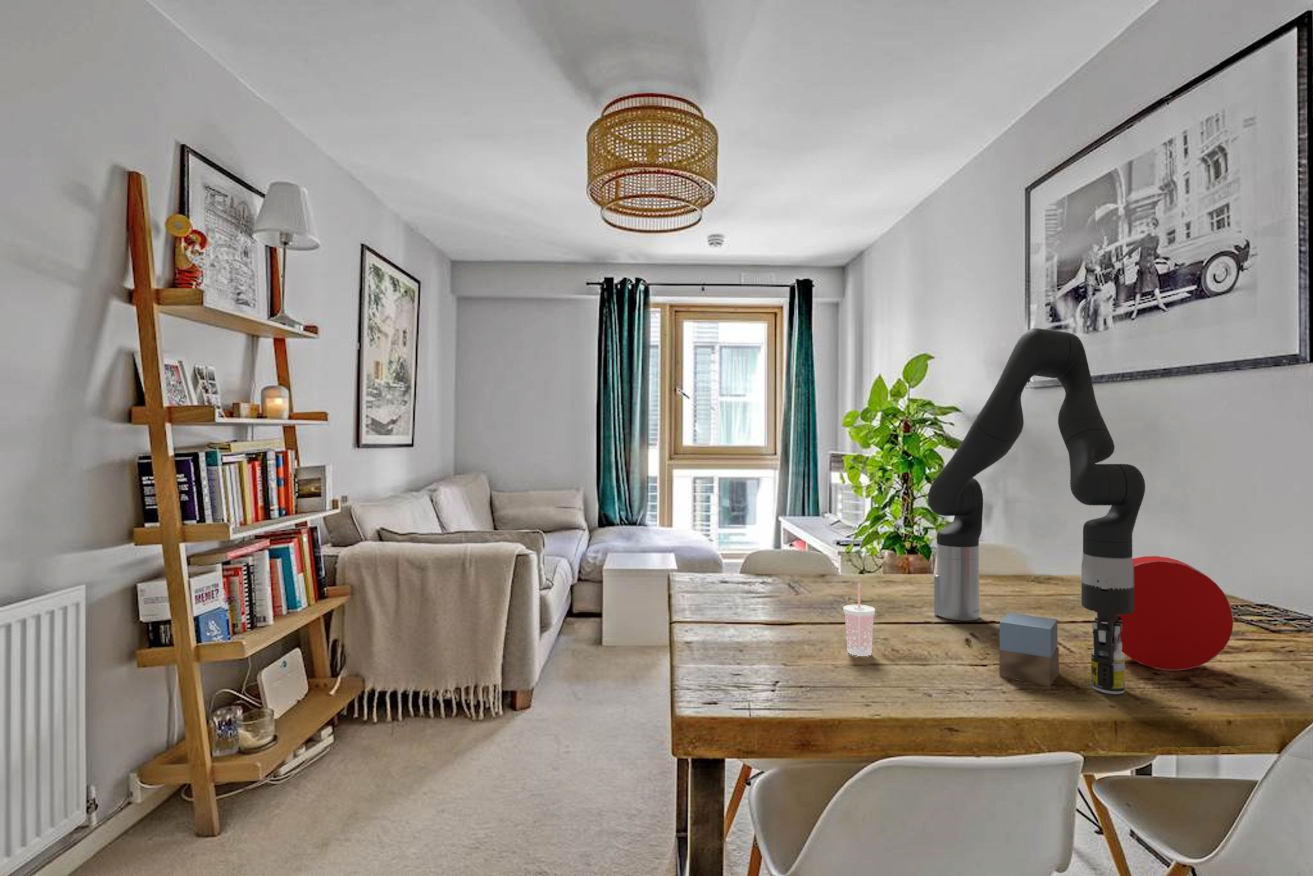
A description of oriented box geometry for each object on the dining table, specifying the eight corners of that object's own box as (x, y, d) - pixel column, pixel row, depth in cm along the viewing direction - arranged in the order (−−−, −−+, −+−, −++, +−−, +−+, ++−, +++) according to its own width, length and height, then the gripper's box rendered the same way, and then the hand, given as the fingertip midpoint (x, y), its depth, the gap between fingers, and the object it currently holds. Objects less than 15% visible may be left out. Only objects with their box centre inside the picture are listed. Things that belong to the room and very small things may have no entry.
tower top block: (999, 649, 124) (999, 621, 124) (1009, 639, 130) (1008, 612, 130) (1050, 658, 119) (1050, 629, 119) (1057, 646, 125) (1057, 619, 125)
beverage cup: (875, 650, 139) (875, 580, 139) (875, 659, 134) (874, 587, 133) (844, 647, 141) (844, 579, 141) (842, 656, 136) (841, 585, 135)
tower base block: (999, 677, 124) (999, 649, 124) (1010, 665, 130) (1010, 639, 130) (1049, 687, 119) (1049, 658, 119) (1058, 674, 125) (1058, 647, 125)
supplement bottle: (1084, 685, 119) (1084, 636, 119) (1110, 684, 119) (1110, 635, 119) (1105, 695, 114) (1104, 644, 114) (1131, 694, 114) (1131, 644, 114)
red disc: (1222, 667, 128) (1221, 559, 127) (1233, 677, 122) (1233, 564, 122) (1095, 654, 136) (1095, 552, 136) (1101, 663, 130) (1100, 557, 130)
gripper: (1088, 572, 125) (1088, 666, 125) (1074, 586, 113) (1075, 689, 114) (1138, 577, 120) (1138, 675, 120) (1129, 592, 109) (1129, 700, 109)
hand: (1107, 681), depth 117 cm, fingers closed on supplement bottle, 4 cm apart
